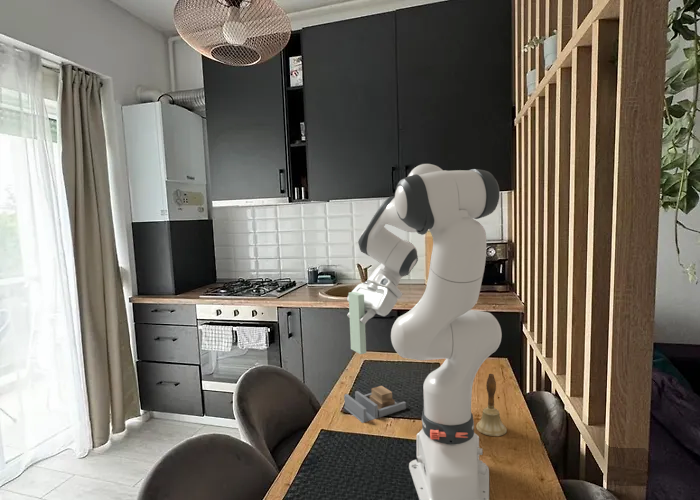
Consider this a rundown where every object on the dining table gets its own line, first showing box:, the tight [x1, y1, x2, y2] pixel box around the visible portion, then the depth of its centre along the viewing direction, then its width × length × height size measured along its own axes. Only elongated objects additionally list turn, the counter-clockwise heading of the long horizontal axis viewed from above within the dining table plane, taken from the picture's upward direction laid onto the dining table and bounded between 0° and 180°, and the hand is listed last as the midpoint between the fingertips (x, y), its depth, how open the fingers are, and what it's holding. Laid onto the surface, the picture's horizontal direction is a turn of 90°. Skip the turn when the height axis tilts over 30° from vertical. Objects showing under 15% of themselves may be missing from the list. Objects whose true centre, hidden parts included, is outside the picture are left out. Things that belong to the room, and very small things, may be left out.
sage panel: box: [348, 291, 367, 355], centre depth 124 cm, size 2×6×18 cm, turn 29°
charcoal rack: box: [343, 390, 407, 424], centre depth 128 cm, size 16×12×5 cm
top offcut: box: [370, 385, 393, 403], centre depth 130 cm, size 4×6×2 cm, turn 29°
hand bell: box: [475, 373, 508, 437], centre depth 115 cm, size 8×8×16 cm
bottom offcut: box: [370, 395, 396, 409], centre depth 130 cm, size 5×7×2 cm
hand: (355, 319), depth 123 cm, fingers closed on sage panel, 6 cm apart
